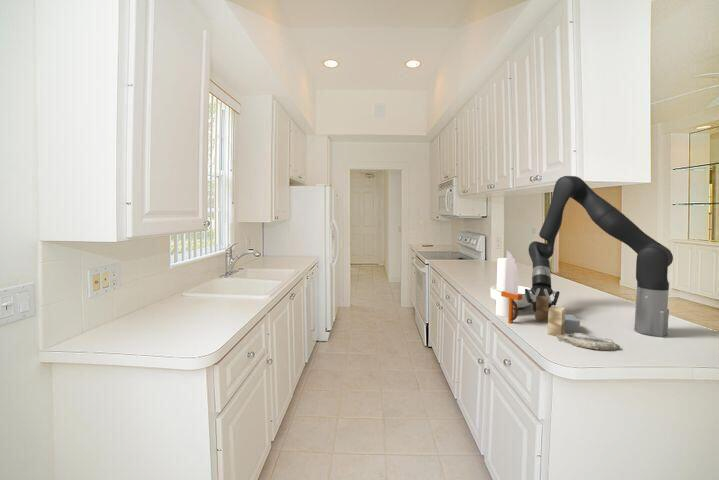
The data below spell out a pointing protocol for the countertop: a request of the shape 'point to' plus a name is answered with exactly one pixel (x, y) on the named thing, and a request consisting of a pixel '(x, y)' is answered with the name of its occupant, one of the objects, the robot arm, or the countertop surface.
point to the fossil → (588, 341)
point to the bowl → (519, 303)
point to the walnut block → (541, 308)
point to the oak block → (556, 321)
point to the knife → (511, 286)
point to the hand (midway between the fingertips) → (542, 311)
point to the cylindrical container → (501, 289)
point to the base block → (571, 324)
